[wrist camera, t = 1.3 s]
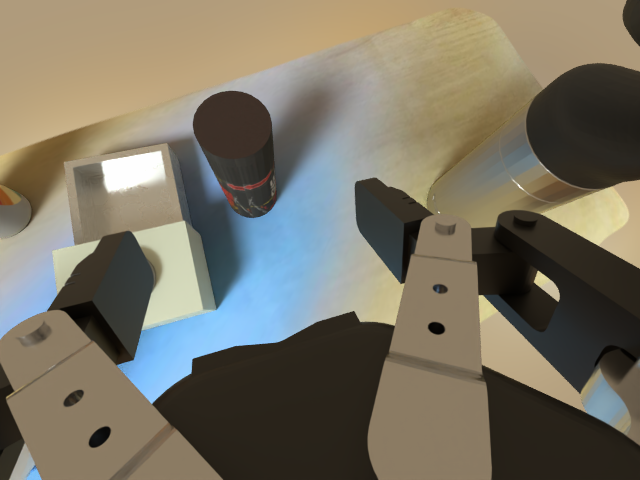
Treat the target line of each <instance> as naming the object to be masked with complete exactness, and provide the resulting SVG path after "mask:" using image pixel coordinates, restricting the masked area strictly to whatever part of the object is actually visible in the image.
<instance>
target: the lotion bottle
mask: <svg viewBox="0 0 640 480" xmlns="http://www.w3.org/2000/svg"><path fill="white" fill-rule="evenodd" d="M30 218H31V206H30V203H29V201H28V200H27V199H26V198H25V197H24V196H23V195H21V194H20V193H18V192H16V191H14V190H12V189H9V188H7V187H5V186H3V185H1V184H0V239H3V238H8V237H11V236H13V235H15V234H17V233H19V232H20V231H21V230H23V229H24V228H25V227H26V225H27V224H28V222H29V220H30Z"/></svg>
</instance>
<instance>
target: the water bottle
mask: <svg viewBox="0 0 640 480" xmlns="http://www.w3.org/2000/svg"><path fill="white" fill-rule="evenodd" d="M34 466H35V463H34V461H33V459H32V457H31V454H30V452H29V450H28V448H27V445H26V443H25V444H24V446H23V449H22V451H21V453H20V456H19V458H18V460H17V463H16V465H15V467H14V470H13V472H12V474H11V477H10V479H9V480H26V478H27V477H28V476H29V474H30V471H31V469H32V468H33V467H34Z"/></svg>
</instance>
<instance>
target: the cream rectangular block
mask: <svg viewBox="0 0 640 480" xmlns="http://www.w3.org/2000/svg"><path fill="white" fill-rule="evenodd" d="M132 233H133V234H134V236H135V238H136V240H137V241H138V243H139V245H140V247H141V249H142V251H143V253H144V255H145V257H146V259H147V261H148V263H149V265H150V267H151V269H152V272H153V276H154V285H153V289H152V293H151V297H150V300H149V304H148V308H147V312H146V315H145V319H144V323H143V327H142V331H143V330H147V329H150V328H154V327H157V326H161V325H165V324H168V323H172V322H175V321H179V320H183V319H186V318H190V317H193V316H197V315H200V314H204V313H208V312H211V311H215V310H217V309H216V304H215V300H214V295H213V290H212V286H211V281H210V276H209V272H208V267H207V262H206V258H205V253H204V248H203V244H202V239H201V235H200V234H199V233H198V232H197V231H196V230H195V229H193V228H192V227H191V226H190V225H189V224H188V223H187V222H186V221H181V222H176V223H172V224H168V225H163V226H159V227H154V228H150V229H146V230H141V231H137V232H132ZM99 242H100V240H97V241H93V242H88V243H84V244H80V245H75V246H71V247H67V248H62V249H58V250H53V251H52V253H53V262H54V270H55V279H56V287H57V295H58V293H59V292H60V290H61V289H62V287H63V286H65V282H66V281H67V279H68V278H69V277H71V276H70V275H71V273H72V272H73V270H74V269H75V267H76V265H77V264H78V263H80V262H81V261H82V260H83V259H84V258H86V257H87V256H88V255H89V254H91V253H93V252H94V250H95V248H96V247H97V245H98V243H99Z"/></svg>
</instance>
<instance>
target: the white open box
mask: <svg viewBox="0 0 640 480" xmlns="http://www.w3.org/2000/svg"><path fill="white" fill-rule="evenodd" d="M64 168H65V175H66V183H67V190H68V198H69V205H70V213H71V220H72V228H73V235H74V243H75V245H80V244H84V243H88V242H93V241H97V240H101V239H102V237H103V236H105V235H110V234H115V233H119V232H124V231H131V232H137V231H141V230H146V229H150V228H154V227H159V226H163V225H168V224H172V223H176V222H181V221H186V222H187V223H188V224H189V225H190V226H191V227H192V222H191V217H190V212H189V208H188V203H187V198H186V193H185V189H184V184H183V179H182V174H181V170H180V165H179V160H178V158H177V157H176V155H175V154H174V152H173V151H172V149H171V148H170V146H169V145H168V144H167V143H164V144H159V145H153V146H148V147H142V148H137V149H132V150H126V151H121V152H115V153H110V154H105V155H99V156H94V157H88V158H83V159H78V160H72V161H67V162H64ZM192 228H193V227H192Z"/></svg>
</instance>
